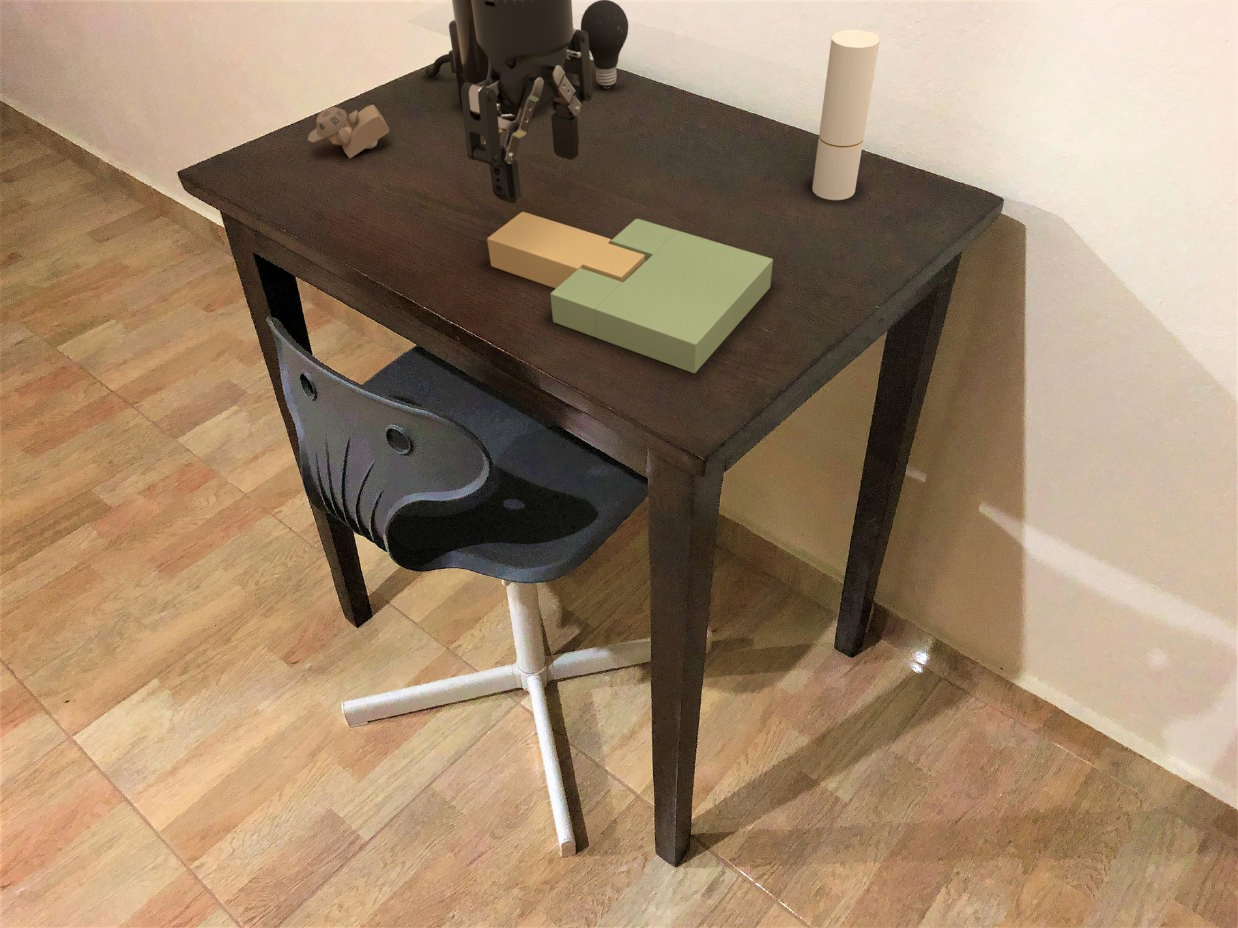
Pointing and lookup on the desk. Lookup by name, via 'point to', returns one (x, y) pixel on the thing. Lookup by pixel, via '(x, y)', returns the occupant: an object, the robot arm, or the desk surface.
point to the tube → (844, 112)
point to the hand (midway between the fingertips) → (538, 177)
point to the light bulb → (605, 37)
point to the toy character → (350, 129)
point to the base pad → (666, 296)
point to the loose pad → (557, 251)
